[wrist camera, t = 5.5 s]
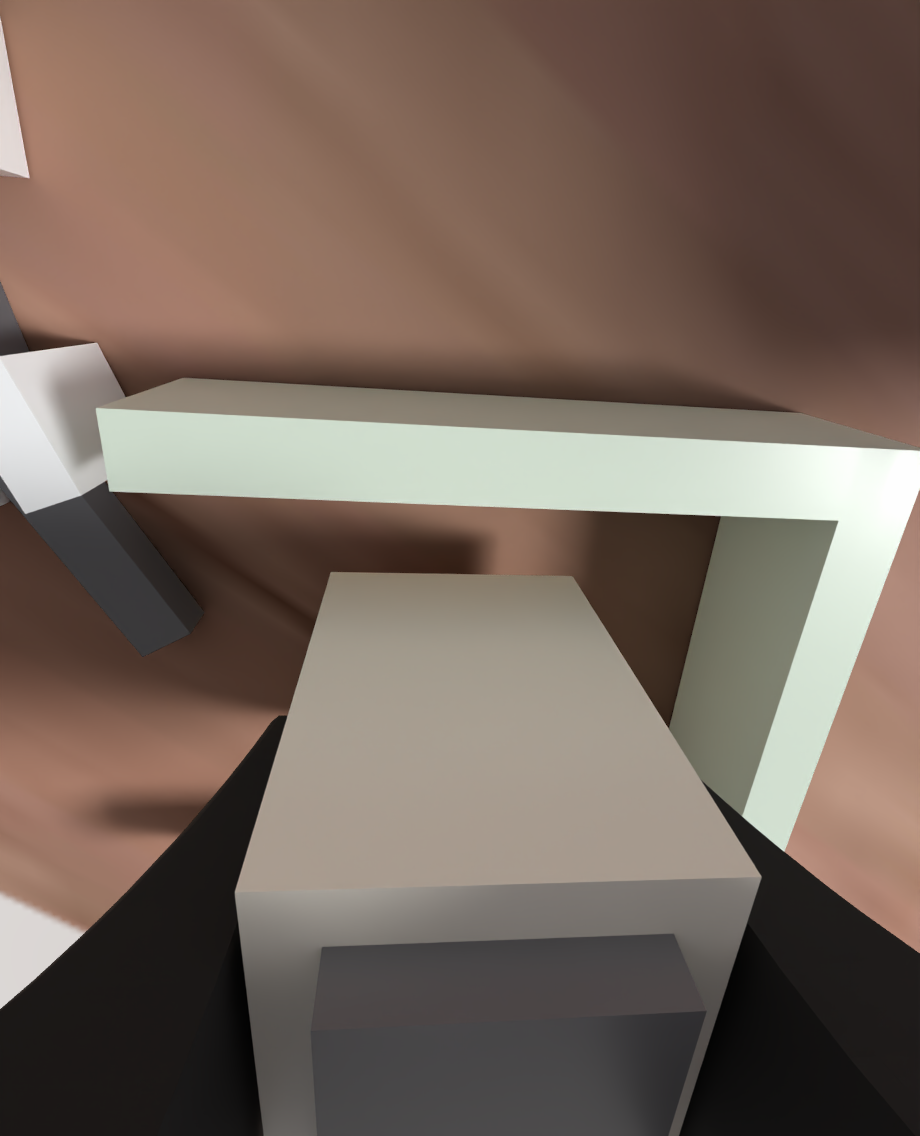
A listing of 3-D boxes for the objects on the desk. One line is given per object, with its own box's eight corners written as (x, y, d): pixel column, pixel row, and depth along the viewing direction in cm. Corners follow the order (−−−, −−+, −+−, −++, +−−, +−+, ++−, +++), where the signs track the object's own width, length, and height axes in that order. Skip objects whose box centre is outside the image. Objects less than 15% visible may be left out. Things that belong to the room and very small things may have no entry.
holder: (801, 413, 11) (933, 451, 8) (682, 835, 15) (744, 957, 12) (183, 377, 10) (96, 408, 7) (233, 840, 14) (189, 974, 11)
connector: (547, 767, 12) (694, 1245, 6) (337, 769, 11) (257, 1282, 5) (572, 576, 10) (807, 950, 4) (331, 571, 10) (210, 974, 4)
